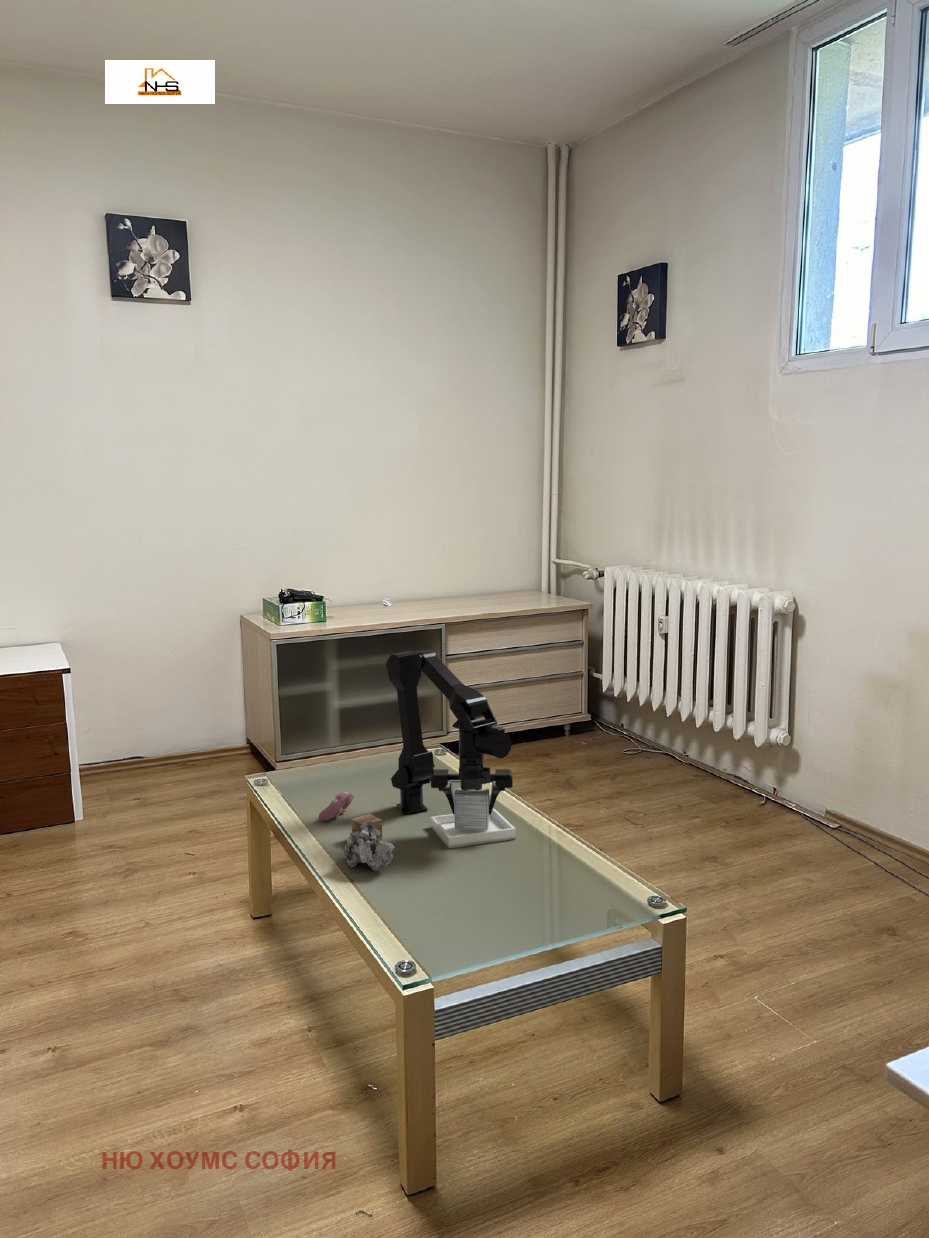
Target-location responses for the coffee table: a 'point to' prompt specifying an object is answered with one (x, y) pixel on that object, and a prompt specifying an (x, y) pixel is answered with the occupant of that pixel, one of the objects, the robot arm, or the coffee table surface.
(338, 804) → the pink crystal rock
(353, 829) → the walnut block
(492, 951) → the coffee table surface
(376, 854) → the mineral specimen
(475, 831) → the tray
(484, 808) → the medicine box
